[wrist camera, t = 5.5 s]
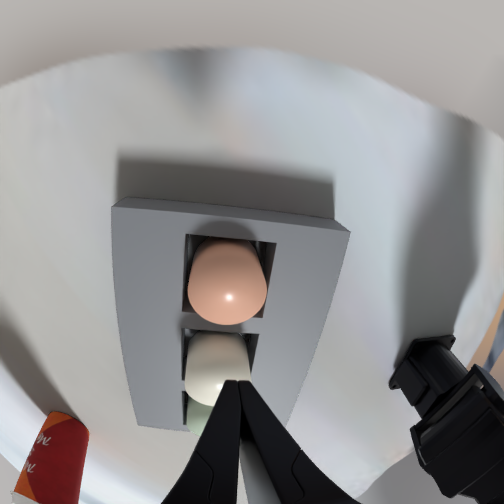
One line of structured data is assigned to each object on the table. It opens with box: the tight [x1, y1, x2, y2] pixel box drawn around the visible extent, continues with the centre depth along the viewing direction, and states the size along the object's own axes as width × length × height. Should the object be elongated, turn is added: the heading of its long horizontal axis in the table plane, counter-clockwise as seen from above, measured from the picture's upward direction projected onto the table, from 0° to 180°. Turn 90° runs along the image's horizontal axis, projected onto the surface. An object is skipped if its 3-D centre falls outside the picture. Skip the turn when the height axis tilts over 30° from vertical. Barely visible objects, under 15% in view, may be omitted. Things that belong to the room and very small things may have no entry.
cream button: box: [185, 330, 252, 406], centre depth 17 cm, size 4×4×4 cm
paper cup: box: [10, 411, 89, 504], centre depth 18 cm, size 8×8×14 cm
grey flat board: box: [111, 197, 351, 432], centre depth 19 cm, size 13×19×2 cm
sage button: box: [187, 395, 214, 436], centre depth 20 cm, size 4×4×4 cm
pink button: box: [188, 236, 267, 325], centre depth 16 cm, size 4×4×4 cm
